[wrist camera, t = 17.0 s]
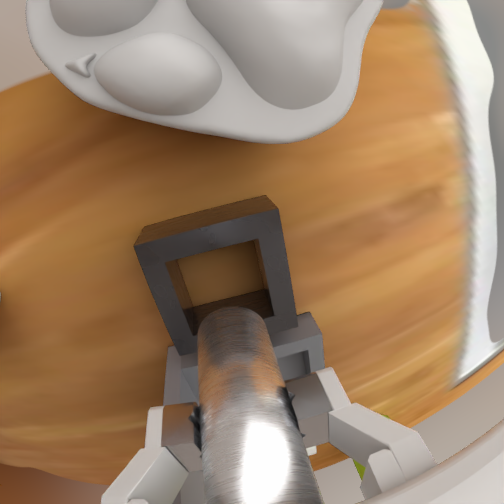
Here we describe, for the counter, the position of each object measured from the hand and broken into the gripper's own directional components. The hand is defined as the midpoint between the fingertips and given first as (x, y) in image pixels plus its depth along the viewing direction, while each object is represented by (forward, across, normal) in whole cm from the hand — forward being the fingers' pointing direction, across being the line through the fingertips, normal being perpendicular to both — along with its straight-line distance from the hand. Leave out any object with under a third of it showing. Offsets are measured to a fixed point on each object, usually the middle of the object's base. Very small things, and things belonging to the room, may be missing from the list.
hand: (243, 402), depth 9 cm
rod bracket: (+10, 0, 0) cm, 10 cm away
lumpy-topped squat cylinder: (+10, -2, -13) cm, 17 cm away
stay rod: (+4, 0, 0) cm, 4 cm away
